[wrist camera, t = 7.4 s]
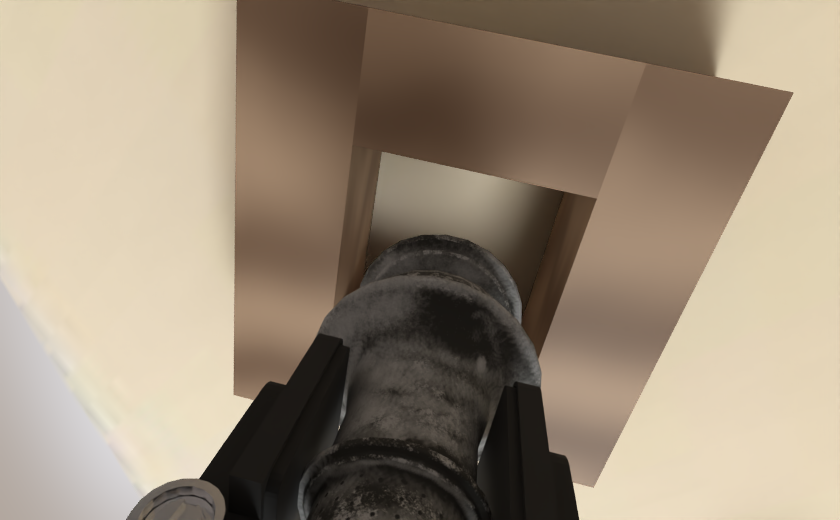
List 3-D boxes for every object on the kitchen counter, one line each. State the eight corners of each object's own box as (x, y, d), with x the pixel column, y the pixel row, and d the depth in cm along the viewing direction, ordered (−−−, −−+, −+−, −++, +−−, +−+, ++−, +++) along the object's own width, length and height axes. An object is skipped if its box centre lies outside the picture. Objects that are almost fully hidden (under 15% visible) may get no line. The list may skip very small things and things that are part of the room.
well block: (302, -2, 18) (237, -19, 14) (715, 81, 17) (793, 92, 13) (281, 332, 25) (233, 394, 20) (575, 405, 24) (593, 487, 20)
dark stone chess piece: (372, 389, 17) (144, 1016, 6) (329, 238, 14) (-167, 789, 4) (540, 378, 15) (647, 1151, 5) (520, 211, 13) (634, 929, 2)
